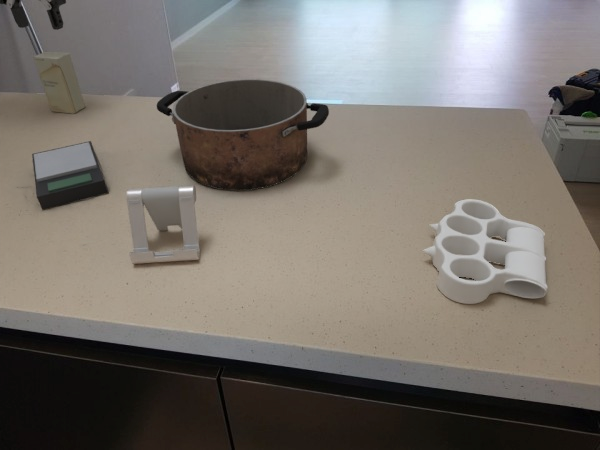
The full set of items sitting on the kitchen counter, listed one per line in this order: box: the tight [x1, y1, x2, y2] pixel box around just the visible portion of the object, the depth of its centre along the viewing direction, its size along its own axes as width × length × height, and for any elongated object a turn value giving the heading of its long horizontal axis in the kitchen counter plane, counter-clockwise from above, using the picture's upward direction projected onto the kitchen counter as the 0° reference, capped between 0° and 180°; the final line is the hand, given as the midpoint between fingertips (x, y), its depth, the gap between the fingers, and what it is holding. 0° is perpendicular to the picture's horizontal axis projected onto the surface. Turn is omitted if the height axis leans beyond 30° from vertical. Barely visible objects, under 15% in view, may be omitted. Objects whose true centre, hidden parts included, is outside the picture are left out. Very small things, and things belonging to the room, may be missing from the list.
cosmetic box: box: [32, 50, 86, 115], centre depth 100 cm, size 6×4×12 cm
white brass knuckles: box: [421, 198, 549, 305], centre depth 59 cm, size 3×18×15 cm
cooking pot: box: [156, 78, 330, 191], centre depth 80 cm, size 30×22×11 cm
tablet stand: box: [125, 185, 201, 265], centre depth 61 cm, size 9×8×8 cm
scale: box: [31, 140, 109, 211], centre depth 78 cm, size 16×10×3 cm, turn 28°
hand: (41, 27), depth 93 cm, fingers open, 8 cm apart
